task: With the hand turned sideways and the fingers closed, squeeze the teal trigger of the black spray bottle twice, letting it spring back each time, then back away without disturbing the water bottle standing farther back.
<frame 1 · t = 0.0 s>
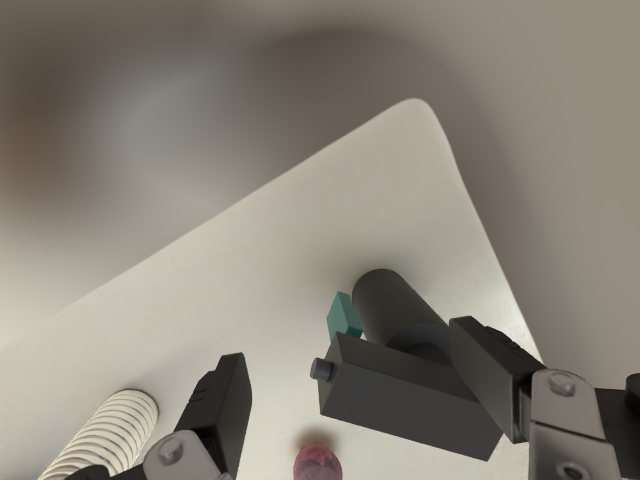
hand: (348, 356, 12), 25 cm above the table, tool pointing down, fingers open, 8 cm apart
water bottle: (133, 409, 40), on the table
spray bottle: (380, 296, 39), on the table
trigger: (342, 323, 27), point 12 cm above the table, slide at -0.1 cm
vegetable: (315, 445, 43), on the table
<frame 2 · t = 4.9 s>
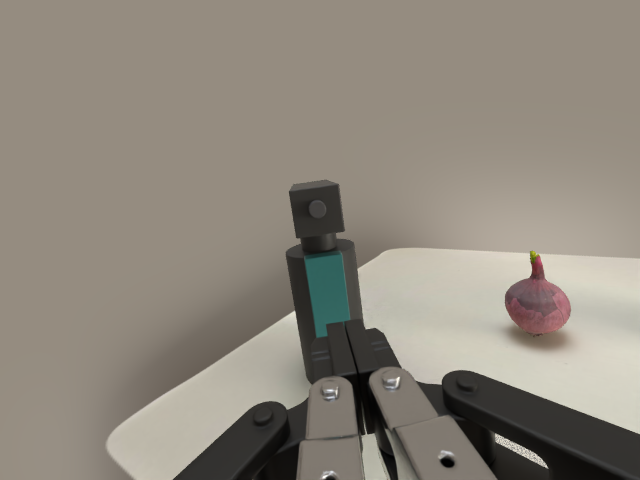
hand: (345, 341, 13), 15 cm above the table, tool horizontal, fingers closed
spray bottle: (337, 368, 35), on the table
trigger: (328, 295, 26), point 12 cm above the table, slide at -0.1 cm
vegetable: (535, 337, 36), on the table
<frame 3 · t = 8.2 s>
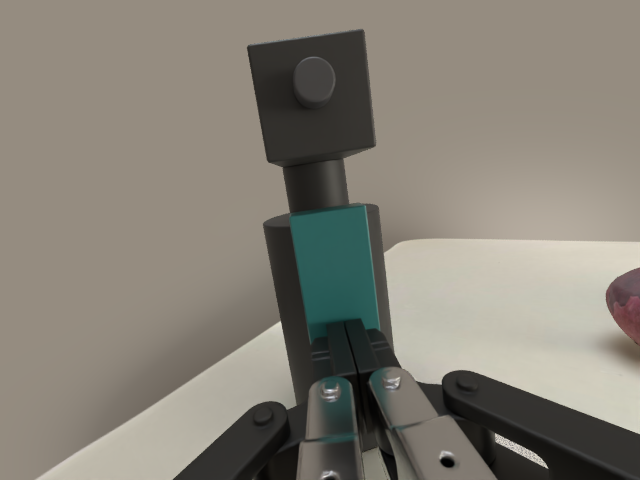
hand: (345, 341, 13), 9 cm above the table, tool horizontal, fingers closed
spray bottle: (349, 409, 22), on the table
trigger: (337, 290, 13), point 12 cm above the table, slide at 0.0 cm, touching gripper
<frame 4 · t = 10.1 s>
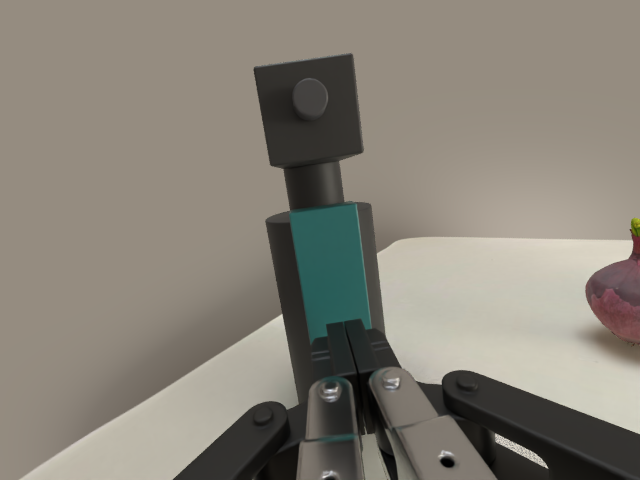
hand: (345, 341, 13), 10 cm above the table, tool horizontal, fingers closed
spray bottle: (344, 393, 24), on the table
trigger: (332, 279, 15), point 12 cm above the table, slide at -0.1 cm
vegetable: (634, 347, 24), on the table
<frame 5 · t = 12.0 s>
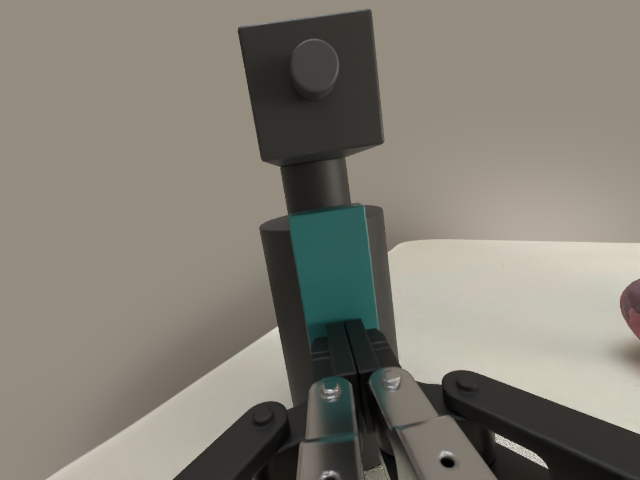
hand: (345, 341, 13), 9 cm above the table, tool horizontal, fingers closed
spray bottle: (351, 422, 21), on the table
trigger: (336, 290, 13), point 12 cm above the table, slide at 1.2 cm, touching gripper
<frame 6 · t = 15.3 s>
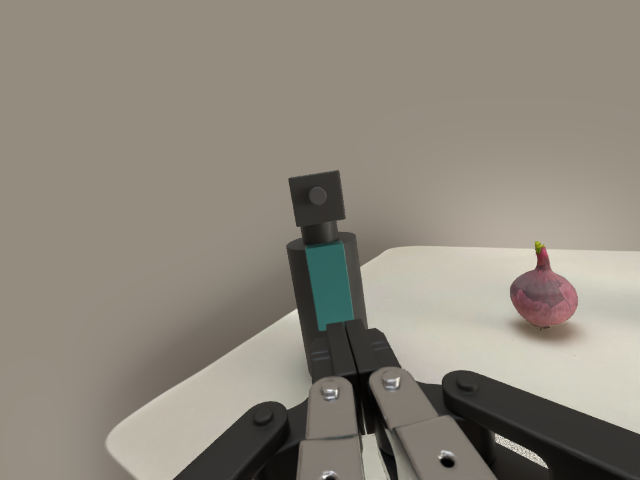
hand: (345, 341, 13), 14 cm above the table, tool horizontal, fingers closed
spray bottle: (340, 363, 34), on the table
trigger: (330, 285, 26), point 12 cm above the table, slide at -0.1 cm
vegetable: (542, 330, 35), on the table
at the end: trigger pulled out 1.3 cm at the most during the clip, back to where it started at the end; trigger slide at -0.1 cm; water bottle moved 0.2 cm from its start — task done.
